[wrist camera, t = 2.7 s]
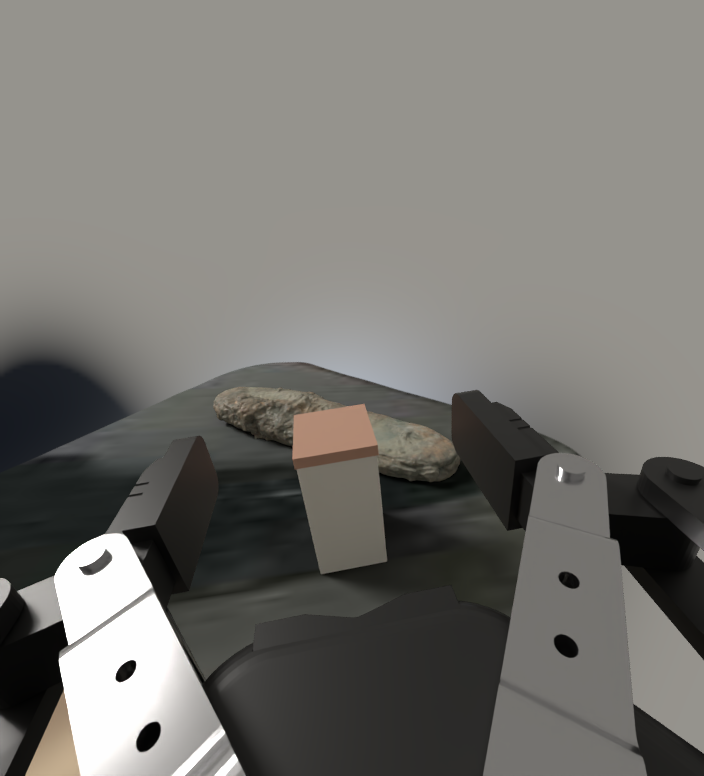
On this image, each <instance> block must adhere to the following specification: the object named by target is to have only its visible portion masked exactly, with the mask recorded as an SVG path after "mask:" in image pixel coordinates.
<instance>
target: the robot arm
mask: <svg viewBox="0 0 704 776" xmlns="http://www.w3.org/2000/svg"><path fill="white" fill-rule="evenodd" d="M452 441H453V445H454V448H455V451H456V453H457V454H458V456H459V457H460V459H461V460H462V462H463V463H464V465H465V467H466V468H467V470H468V471H469V473H470V474H471V476H472V477H473V479H474V480H475V482H476V483H477V485H478V486H479V488H480V489H481V491H482V493H483V494H484V496H485V497H486V499H487V500H488V502H489V503H490V505H491V506H492V508H493V509H494V511H495V512H496V514H497V516H498V517H499V519H500V520H501V522H502V523H503V525H504V526H505V528H506V529H507V531H508V530H514V529H519V528H523V529H524V530H525V532H526V533H525V539H524V545H523V550H522V556H521V562H520V568H519V573H518V579H517V585H516V591H515V597H514V602H513V608H512V614H511V618H510V617H508V616H506V615H505V614H503V613H501V612H498V611H496V610H494V609H491V608H489V607H486V606H482V605H479V604H475V603H470V602H465V601H458V600H457V598H456V595H455V593H454V591H453V588H452V586H451V585H448V586H443V587H438V588H433V589H428V590H423V591H418V592H413V593H408V594H404V595H402V596H400V597H398V598H396V599H394V600H392V601H390V602H388V603H386V604H384V605H382V606H380V607H378V608H376V609H374V610H372V611H370V612H368V613H366V614H364V615H362V616H359V617H352V618H351V617H337V616H322V615H307V614H304V615H299V616H294V617H289V618H284V619H279V620H274V621H269V622H264V623H259V624H255V633H254V642H253V643H252V644H250V645H248V646H246V647H245V648H243V649H242V650H240V651H239V652H237V653H235V654H234V655H233V656H231V657H230V658H229V659H228V660H226V661H225V662H224V663H223V664H222V665H221V666H219V667H218V668H217V669H216V670H215V671H214V672H213V673H212V674H211V675H210V676H209V677H208V679H207V680H206V679H205V677H204V676H203V674H202V672H201V670H200V668H199V666H198V665H197V663H196V661H195V659H194V657H193V655H192V653H191V651H190V649H189V647H188V645H187V644H186V642H185V640H184V638H183V636H182V634H181V632H180V630H179V628H178V626H177V625H176V623H175V621H174V619H173V617H172V615H171V613H170V611H169V610H168V608H167V605H168V602H169V599H170V596H171V594H176V593H182V592H187V591H189V589H190V586H191V582H192V579H193V576H194V572H195V569H196V566H197V562H198V559H199V556H200V552H201V549H202V546H203V542H204V539H205V535H206V532H207V529H208V525H209V522H210V519H211V515H212V512H213V509H214V505H215V502H216V499H217V495H218V478H217V474H216V471H215V469H214V466H213V463H212V461H211V458H210V455H209V452H208V450H207V447H206V444H205V442H204V440H203V438H202V437H201V436H194V437H188V438H182V439H176V440H174V441H173V442H172V443H171V445H170V447H169V448H168V450H167V452H166V454H165V455H164V457H163V458H160V459H157V460H156V461H155V462H154V463H153V464H151V465H150V466H149V467H148V468H147V469H146V470H145V471H144V472H143V473H142V475H141V477H140V478H139V480H138V482H137V483H136V487H134V488H133V490H132V491H131V493H130V495H129V496H130V497H129V498H127V499H126V501H125V503H124V504H123V506H122V508H121V509H120V511H119V513H118V514H117V516H116V517H115V519H114V521H113V522H112V524H111V526H110V527H109V529H108V530H107V532H106V534H105V535H103V536H100V537H97V538H95V539H93V540H91V541H89V542H87V543H85V544H84V545H82V546H81V547H79V548H78V549H76V550H75V551H74V552H73V553H72V554H70V555H69V556H68V557H67V558H66V559H65V561H64V562H63V563H62V564H61V566H60V567H59V569H58V571H57V573H56V575H55V576H53V577H50V578H48V579H46V580H43V581H41V582H38V583H36V584H34V585H31V586H29V587H26V588H24V589H21V590H19V591H16V590H15V588H14V587H13V586H12V585H11V584H10V583H9V581H7V580H6V579H2V578H0V776H25V775H26V773H27V770H28V768H29V766H30V764H31V761H32V759H33V757H34V755H35V753H36V750H37V748H38V746H39V744H40V742H41V739H42V737H43V735H44V733H45V730H46V728H47V726H48V724H49V722H50V719H51V717H52V715H53V713H54V711H55V708H56V706H57V704H58V702H59V699H60V697H61V695H62V693H63V691H64V690H65V695H66V700H67V706H68V711H69V716H70V722H71V727H72V732H73V738H74V743H75V748H76V754H77V759H78V764H79V770H80V775H81V776H704V754H703V753H702V752H701V751H699V750H698V749H696V748H695V747H694V746H692V745H690V744H689V743H688V742H686V741H685V740H684V739H682V738H681V737H679V736H678V735H676V734H675V733H674V732H672V731H671V730H669V729H668V728H667V727H665V726H664V725H662V724H661V723H660V722H658V721H657V720H655V719H654V718H652V717H651V716H650V715H648V714H647V713H646V712H644V711H643V710H641V709H640V708H638V707H637V706H635V705H634V704H633V697H632V685H631V673H630V663H629V651H628V640H627V628H626V616H625V605H624V595H623V594H624V593H623V582H622V570H621V565H624V566H625V567H626V568H627V570H628V571H629V572H630V573H631V574H632V575H633V577H634V578H635V579H636V580H637V581H638V583H639V584H640V585H641V586H642V587H643V588H644V590H645V591H646V592H647V593H648V594H649V596H650V597H651V598H652V599H653V600H654V602H655V603H656V604H657V605H658V606H659V607H660V609H661V610H662V611H663V612H664V613H665V615H666V616H667V617H668V618H669V619H670V620H671V622H672V623H673V624H674V625H675V626H676V628H677V629H678V630H679V631H680V632H681V634H682V635H683V636H684V637H685V638H686V639H687V641H688V642H689V643H690V644H691V645H692V647H693V648H694V649H695V650H696V651H697V653H698V654H699V655H700V656H701V657H702V658H703V660H704V562H702V560H700V559H699V558H698V557H697V556H696V555H697V553H698V551H699V549H700V548H701V549H702V550H703V551H704V467H702V466H700V465H698V464H695V463H693V462H690V461H686V460H682V459H677V458H671V457H656V458H652V459H649V460H647V461H646V462H645V463H644V464H643V467H642V470H641V473H640V475H631V474H612V473H610V474H609V473H604V472H603V470H602V469H601V468H600V467H599V466H598V465H596V464H595V463H593V462H592V461H590V460H588V459H585V458H583V457H580V456H577V455H573V454H567V453H559V452H558V451H557V450H556V449H554V448H553V447H552V446H551V445H550V444H549V443H548V442H547V441H546V440H545V439H544V438H543V437H541V436H540V435H539V434H538V433H537V432H536V431H535V430H534V429H533V428H530V425H528V424H527V423H526V422H525V421H524V420H522V419H521V417H520V416H519V415H518V414H517V413H515V412H514V411H513V410H512V409H511V408H509V407H506V406H504V405H502V404H500V403H498V402H494V403H491V402H490V401H489V400H488V399H487V398H486V397H485V396H484V395H483V394H482V393H481V392H480V391H478V390H473V391H467V392H461V393H455V394H454V395H453V397H452Z"/></svg>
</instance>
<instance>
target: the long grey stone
mask: <svg viewBox="0 0 704 776" xmlns="http://www.w3.org/2000/svg"><path fill="white" fill-rule="evenodd" d="M213 407H214V409H215V411H216V413H217V418H218V419H219V420H224V421H225V422H227V423H229V424H232V425H234V426H235V427H237V428H238V429H242V430H244V431H247V432H251V434H252V435H254V438H255V439H256V438H264V439H266V441H269V440H274V441H277V442H279V443H283V444H286V445H289V446H292V447H293V428H294V415H298V414H304V413H311V412H317V411H323V410H329V409H335V408H342V407H347V406H345V405H341V404H340V403H335V402H331V401H327V400H324V398H323V397H321V396H318V395H316V394H315V393H313V392H301V391H293V390H291V389H289V390H288V389H283V388H277V389H274V388H258V387H238V388H233V389H230V390H227V391H224V392H222V393H220V394H219V395H218V396H217V397H216V399H215V400H214V406H213ZM367 414H368V417H369V420H370V423H371V426H372V429H373V432H374V435H375V438H376V441H377V444H378V452H379V455H377V460H378V470H379V473H382V474H384V475H387V476H393V477H398V478H405V479H408V480H409V481H415V480H421V481H429V482H433V481H442V480H445V479H446V478H449V477H450V476H452V475H453V474H454V473H455V472H456V470H457V468H458V466H459V464H460V457H459V456H458V454H457V453H456V451H455V448H454V445H453V442H451V441H450V440H449V439H447V438H445V437H444V436H442V435H441V434H439V433H437V432H435V431H434V430H432V429H430V428H428V427H425V426H421V425H418V424H414V423H407V422H404V421H400V420H397V419H394V418H391V417H388V416H386V415H381V414H375V413H373V412H367Z"/></svg>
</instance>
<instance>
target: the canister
mask: <svg viewBox="0 0 704 776" xmlns="http://www.w3.org/2000/svg"><path fill="white" fill-rule="evenodd" d="M377 455H379V452H378V444H377V441H376V438H375V435H374V432H373V429H372V426H371V423H370V420H369V417H368V414H367V411H366V408H365V405H364V404H360V405H354V406H348V407H342V408H335V409H329V410H323V411H317V412H311V413H304V414H298V415H294V428H293V464H294V468H295V469H297V473H298V477H299V481H300V486H301V490H302V495H303V499H304V503H305V508H306V512H307V516H308V521H309V525H310V529H311V534H312V538H313V542H314V547H315V551H316V555H317V560H318V564H319V568H320V573H321V574H325V573H330V572H335V571H340V570H346V569H351V568H356V567H361V566H367V565H372V564H377V563H382V562H387V553H386V543H385V533H384V522H383V512H382V501H381V491H380V481H379V470H378V460H377Z"/></svg>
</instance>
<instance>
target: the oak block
mask: <svg viewBox="0 0 704 776" xmlns="http://www.w3.org/2000/svg"><path fill="white" fill-rule="evenodd" d="M25 776H81V775H80V770H79V764H78V759H77V754H76V748H75V743H74V738H73V732H72V727H71V722H70V716H69V711H68V706H67V700H66V695H65V690H64V691H63V693H62V695H61V697H60V699H59V702H58V704H57V706H56V708H55V711H54V713H53V715H52V717H51V719H50V722H49V724H48V726H47V728H46V730H45V733H44V735H43V737H42V739H41V742H40V744H39V746H38V748H37V750H36V753H35V755H34V757H33V759H32V761H31V764H30V766H29V768H28V770H27V773H26V775H25Z"/></svg>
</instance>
